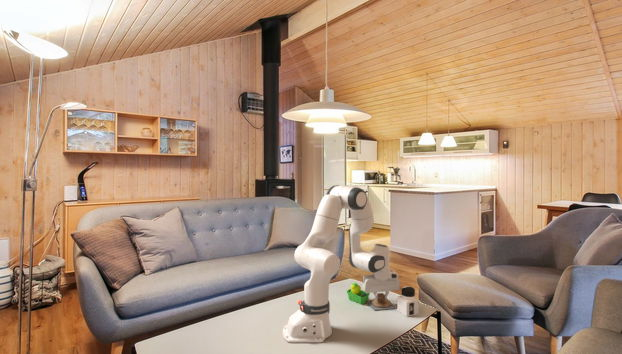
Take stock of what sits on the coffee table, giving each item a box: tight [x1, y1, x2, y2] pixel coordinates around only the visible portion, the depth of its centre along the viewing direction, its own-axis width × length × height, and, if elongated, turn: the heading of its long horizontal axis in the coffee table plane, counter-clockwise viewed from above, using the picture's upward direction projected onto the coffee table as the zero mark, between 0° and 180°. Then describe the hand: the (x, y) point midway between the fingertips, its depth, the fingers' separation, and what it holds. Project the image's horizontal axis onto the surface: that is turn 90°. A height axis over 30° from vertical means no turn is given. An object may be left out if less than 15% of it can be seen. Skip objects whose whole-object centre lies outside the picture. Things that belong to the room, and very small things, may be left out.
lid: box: [371, 292, 392, 308], centre depth 177 cm, size 10×10×5 cm
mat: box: [366, 299, 397, 312], centre depth 177 cm, size 12×12×1 cm
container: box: [396, 285, 420, 318], centre depth 168 cm, size 8×8×13 cm
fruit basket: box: [346, 282, 370, 306], centre depth 182 cm, size 11×9×11 cm
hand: (381, 299), depth 177 cm, fingers closed on lid, 3 cm apart
